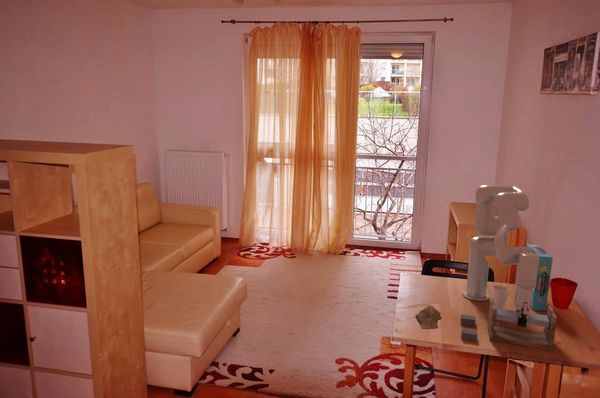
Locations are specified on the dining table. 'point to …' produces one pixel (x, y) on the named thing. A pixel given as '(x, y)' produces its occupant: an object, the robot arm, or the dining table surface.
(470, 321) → the support blocks
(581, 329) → the dining table surface
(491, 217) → the robot arm
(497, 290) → the drinking glass
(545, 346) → the shelf unit
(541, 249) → the game box
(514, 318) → the shelf board
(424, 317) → the wooden fragment
